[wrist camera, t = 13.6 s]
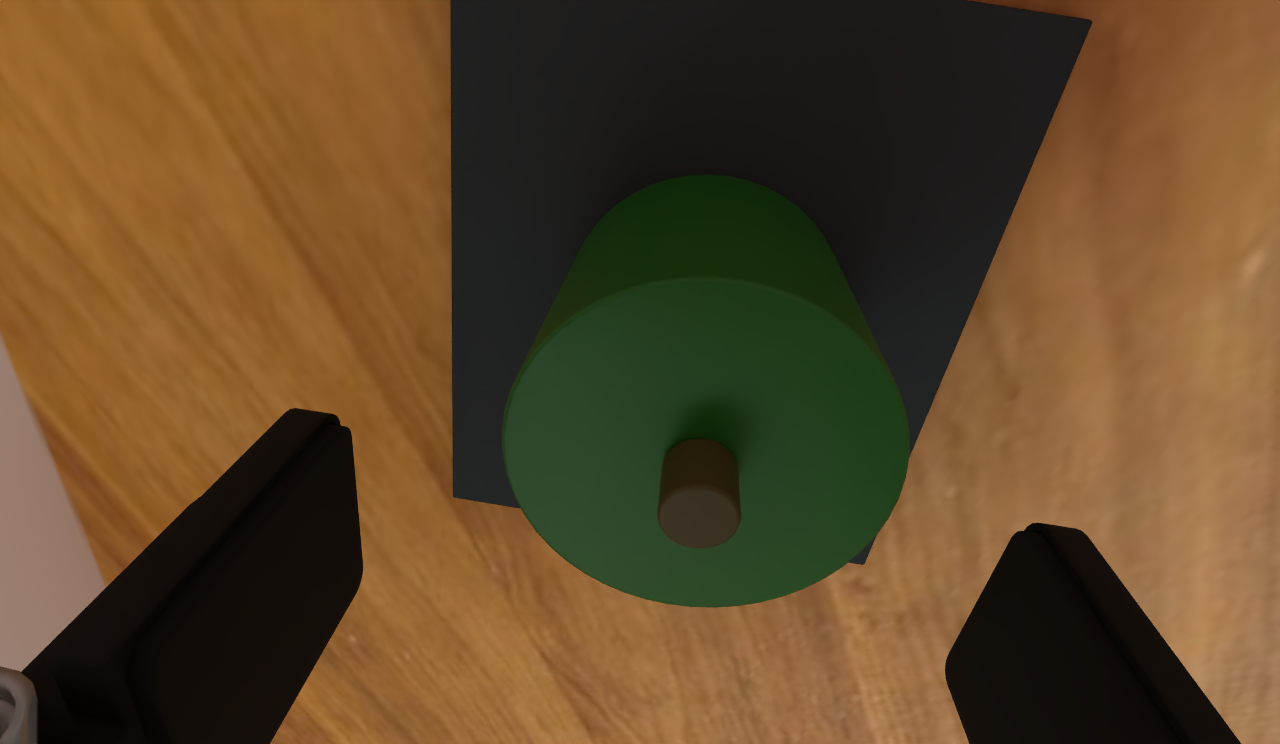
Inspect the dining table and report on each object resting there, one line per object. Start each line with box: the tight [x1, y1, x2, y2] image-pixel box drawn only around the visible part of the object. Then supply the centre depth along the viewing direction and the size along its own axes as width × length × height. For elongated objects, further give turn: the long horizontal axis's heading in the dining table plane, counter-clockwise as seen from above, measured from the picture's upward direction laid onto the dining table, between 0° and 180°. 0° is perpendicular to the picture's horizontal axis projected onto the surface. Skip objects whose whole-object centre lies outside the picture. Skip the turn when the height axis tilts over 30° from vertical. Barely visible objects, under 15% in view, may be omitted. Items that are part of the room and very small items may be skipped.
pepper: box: [502, 174, 910, 607], centre depth 13 cm, size 6×6×7 cm
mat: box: [451, 0, 1092, 565], centre depth 16 cm, size 12×14×1 cm
